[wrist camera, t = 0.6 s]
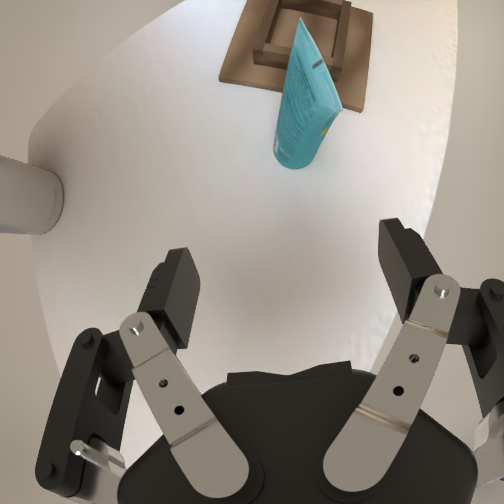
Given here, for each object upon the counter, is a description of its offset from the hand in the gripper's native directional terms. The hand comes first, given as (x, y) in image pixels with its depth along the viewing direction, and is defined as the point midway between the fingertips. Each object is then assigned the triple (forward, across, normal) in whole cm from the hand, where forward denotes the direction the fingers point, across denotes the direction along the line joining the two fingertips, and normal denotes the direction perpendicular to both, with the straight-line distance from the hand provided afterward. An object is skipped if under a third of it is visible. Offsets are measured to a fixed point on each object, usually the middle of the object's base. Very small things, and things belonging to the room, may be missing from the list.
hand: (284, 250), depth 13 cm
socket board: (+34, -6, -8) cm, 36 cm away
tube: (+25, -2, +5) cm, 26 cm away
